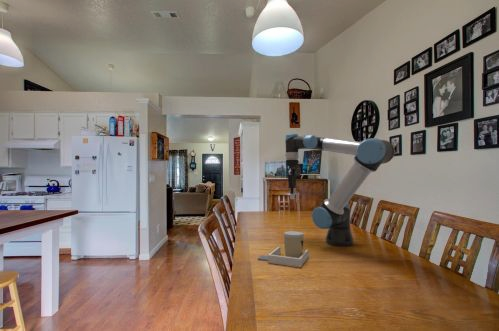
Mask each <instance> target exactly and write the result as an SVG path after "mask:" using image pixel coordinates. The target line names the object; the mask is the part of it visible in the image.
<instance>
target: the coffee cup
mask: <svg viewBox="0 0 499 331" xmlns="http://www.w3.org/2000/svg"><path fill="white" fill-rule="evenodd" d="M304 237H305V235H304V233H303V232H301V231H295V230H294V231H293V230H290V231H289V230H288V231H285V232H284V233H283V243H284V254H285V255H284V256H285V257H293V258H300V256H301V255H302V254H303V253H304V252H303V251H304Z"/></svg>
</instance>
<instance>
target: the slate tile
mask: <svg viewBox="0 0 499 331" xmlns="http://www.w3.org/2000/svg"><path fill="white" fill-rule="evenodd" d="M257 261H263V262H268V255H259V257H257Z"/></svg>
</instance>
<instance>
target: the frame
mask: <svg viewBox="0 0 499 331" xmlns="http://www.w3.org/2000/svg"><path fill="white" fill-rule="evenodd" d="M281 253H282V252H281V246H277V247H275V249H274V250H272V252H270V253H269V254H267V256H268V261H267V262H268V264H275V265H281V266H288V267H295V268H302V266H303V265H304V264H305V263H306V261H307V260H308V259H309V249H305V251H304V252H303V254H302V255H301V256H300V258H293V257H285V255H281Z"/></svg>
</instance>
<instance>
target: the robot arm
mask: <svg viewBox="0 0 499 331" xmlns="http://www.w3.org/2000/svg"><path fill="white" fill-rule="evenodd" d="M284 141H285V154H284V156H285V159H286V160H285V167H288V170H287V172H286V173H287V180H288V189H289V199H290V200H296V189H297V173H298V171H297V169H296V167H299V150H307V149H308V150H316V151H324V152H331V153H336V154H337V153H339V154H343V155H344V154H345V155H350V156H354V157H353V160H354V162H353V164H352V165H351V167H350V169H349V170H348V171H347V173H346V174H345V175H344V177H343V178H342V180H341V181H340V183H339V184H338V185H337V187H336V188H335V190H334V191H333V192H332V193H331V195H330V196H329V198H325V199H324V200H323V201H322V203H321V204H320V206H317V207H315V208H313V210H312V212H311V218H312V220H311V221H312V222H313V223H314V225H315V226H316V227H317V228H318V229H321V230H327V233H326V235H325V243H327V245H331V246H336V247H349V246H350V247H351V246H353V245H354V243H355V242H354V237H353V234H352V231H351V208H350V206H351V205H350V203H349V201H350V200H351V199H352V198H353V196H354V195H355V194H356V192H357V191H358V190H359V188H360V187H361V185H362V184H363V183H364V181H365V180H366V179H367V178H368V177H369V175H370V173H375V172H376V171H377V170H378V169H379V168H380V166H381V165H383V164H386V163H389V162H390V161H392V160H393V158H394V156H395V153H396V149H395V147H394V145H393V144H392V143H391V141H388V140H385V139H379V138H375V137H373V138H366V139H364V140H362V141H358V140H357V141H354V140H347V139H346V140H345V139H339V138H338V139H337V138H327V137H322V136H321V137H320V136H316V135H314V134H307V135H300V136H299V134H298V133H295V132H294V133H293V132H292V133H286V135H285V140H284Z"/></svg>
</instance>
